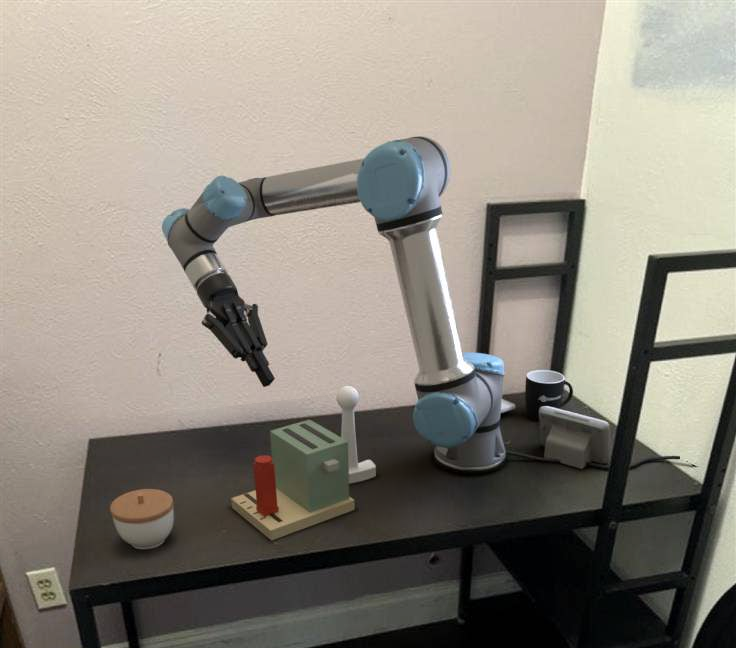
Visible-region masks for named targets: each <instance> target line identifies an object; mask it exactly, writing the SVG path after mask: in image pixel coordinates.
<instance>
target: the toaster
mask: <svg viewBox="0 0 736 648" xmlns="http://www.w3.org/2000/svg"><path fill="white" fill-rule="evenodd" d="M269 436H270V437H269V438H270V449H271V451H270V452H271V458H272V462H273V463H274V468H275V481H276V494H277V506H278V507H279V511H278V512H275V513H272V514H269V515H267V516H263V515H262V514H260V513H259V512H258V511H257V510H256V506H257V499H256V489H254V490H252V491H249V492H246V493H243V494H240V495H237V496H234V497H231V498H230V500H231V509H233V510H234V511H235V512H236V513H237V514H239V515H240V516H241V517H242V518H243V519H244V520H246V521H247V522H248V523H249V524H251V525H252V526H253V527H254V528H256V529H257V530H258V531H259V532H260V533H261V534H263V535H264V536H265V537H266V538H268V540H270V541H275V540H277V539H280V538H283V537H285V536H288V535H290V534H293V533H296V532H299V531H301V530H305V529H306V528H309V527H312V526H314V525H318V524H321V523H323V522H325V521H329V520H331V519H334V518H336V517H339V516H341V515H342V516H343V515H344V514H347V513H349V512H352V511H355V509H356V507H355V505H356V504H355V499H354V498H352V497H351V496H350V483H349V464H348V441H346V440H344V439H343V438H341V436H339V435H337V434H336V433H334V432H332V431H330V430H329V429H327V428H325V427H324V426H322V425H320V424H318V423H317V422H315V421H313V420H311V419H307V420H302V421H300V422H297V423H293V424H289V425H285V426H282V427H279V428H276V429H275V428H274V429H272V430H269Z"/></svg>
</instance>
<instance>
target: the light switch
mask: <svg viewBox="0 0 736 648" xmlns="http://www.w3.org/2000/svg"><path fill="white" fill-rule="evenodd" d="M516 406H517V405H516V404H515V403H514V402H511V401H509V400H506V399H504V398H502V402H501V414H504V413H506V412H508V411H512V410H515V409H516Z"/></svg>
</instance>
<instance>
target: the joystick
mask: <svg viewBox="0 0 736 648" xmlns="http://www.w3.org/2000/svg"><path fill="white" fill-rule="evenodd" d="M335 400H336V402H337V404H338V406H340V408H341V428H340V429H341V433H340V437H341V438H343V439H344V440H346V441H348V464H349V484H355V483H359V482H364V481H367V480H370V479H373V478H375V477H376V476H377V465H376V464H375V463H374V462H373V461H372V459H366V460H363V461H361V462H359V461H358V460H359V458H358V449H357V448H358V446H357V435H356V422H355V407H356V406H357V405H358V403H359V400H360V393H359V392H358V390H357V389H356V388H355V387H353V386H352V385H351V386H350V385H345V386H342V387H340V388H339V390H337V392H336V397H335Z"/></svg>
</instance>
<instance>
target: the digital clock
mask: <svg viewBox="0 0 736 648" xmlns="http://www.w3.org/2000/svg"><path fill="white" fill-rule="evenodd" d="M538 422H539V429H540V441H541V445H542V446H543V447H544V454H543V458H550V459H558V460H560V461H561V462H560V463H559V464H562V465H567V466H569V467H572V468H575V469H576V468H577V469H580V470H583V469H584V468H585V467H586V466H587V465H586V462H591V463H596V464H601V465H606V464H608V463H609V462H610V461H611V427H610V424H609V422H608V421H606V420H603V419H599V418H595V417H592V416H588V415H585V414H580V413H576V412H573V411H568V410H564V409H562V408H559V409H557V408H553V407H549V406H542V407H540V409H539V421H538Z"/></svg>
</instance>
